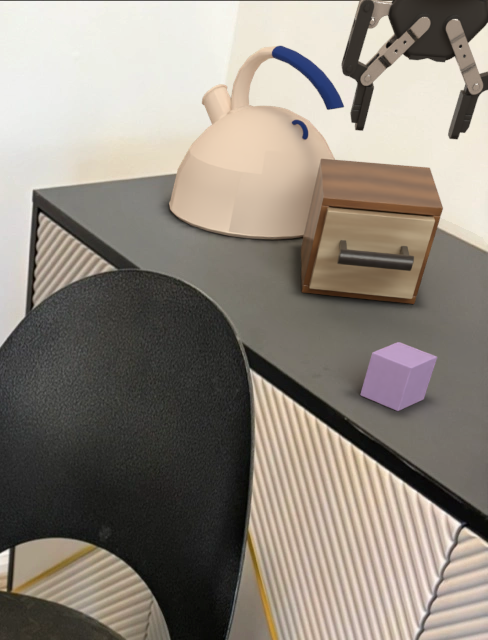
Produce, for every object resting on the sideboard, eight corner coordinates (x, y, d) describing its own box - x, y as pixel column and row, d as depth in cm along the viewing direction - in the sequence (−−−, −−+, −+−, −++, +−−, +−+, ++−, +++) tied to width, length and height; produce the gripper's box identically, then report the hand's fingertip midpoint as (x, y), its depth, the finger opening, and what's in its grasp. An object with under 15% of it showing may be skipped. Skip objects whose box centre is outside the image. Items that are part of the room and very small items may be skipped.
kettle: (248, 179, 149) (277, 23, 137) (369, 223, 136) (413, 54, 124) (133, 202, 140) (153, 37, 129) (250, 251, 128) (285, 73, 116)
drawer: (415, 316, 112) (440, 236, 106) (309, 305, 113) (328, 225, 108) (402, 255, 125) (423, 181, 120) (308, 246, 127) (324, 173, 122)
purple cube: (385, 384, 102) (398, 341, 99) (423, 399, 99) (437, 356, 97) (359, 395, 100) (371, 352, 97) (397, 411, 97) (411, 367, 95)
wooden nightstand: (414, 304, 116) (443, 207, 110) (301, 292, 118) (323, 197, 112) (404, 257, 127) (430, 167, 121) (300, 247, 129) (320, 158, 123)
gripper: (378, -79, 92) (328, 136, 103) (560, -68, 90) (490, 150, 100) (373, -88, 97) (327, 117, 108) (545, -78, 95) (479, 130, 106)
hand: (405, 133), depth 104 cm, fingers open, 8 cm apart
